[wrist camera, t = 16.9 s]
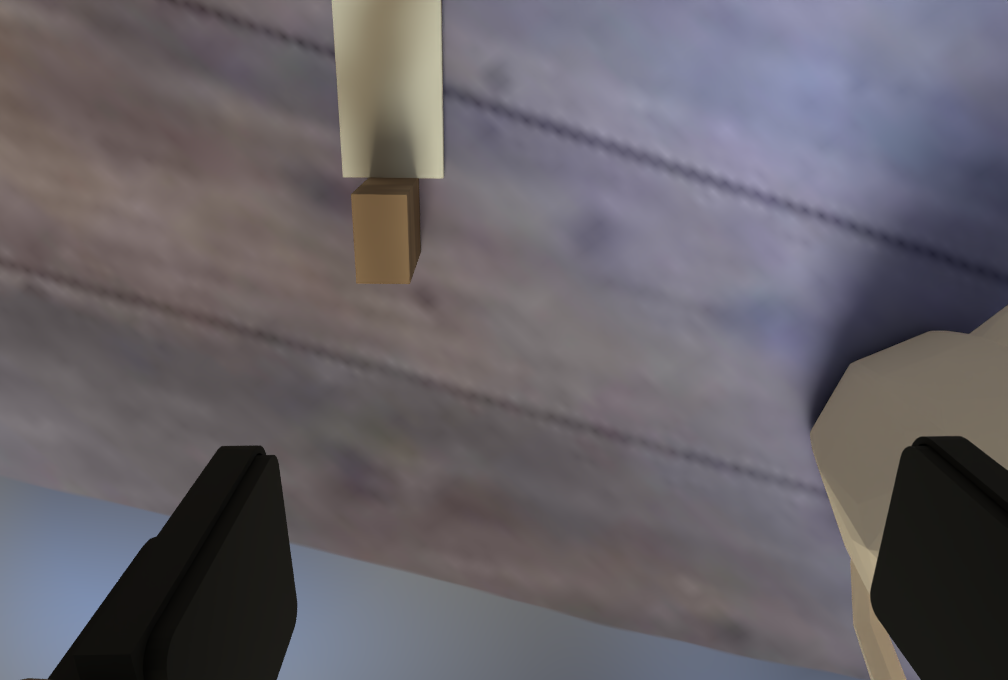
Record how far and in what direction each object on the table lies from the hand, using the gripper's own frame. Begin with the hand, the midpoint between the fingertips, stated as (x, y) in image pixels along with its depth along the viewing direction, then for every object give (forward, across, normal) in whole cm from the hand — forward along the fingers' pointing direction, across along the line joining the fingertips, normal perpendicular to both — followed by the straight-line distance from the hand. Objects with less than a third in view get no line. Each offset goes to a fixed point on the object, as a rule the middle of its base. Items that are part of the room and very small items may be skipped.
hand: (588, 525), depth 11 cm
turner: (+28, +6, -5) cm, 29 cm away
